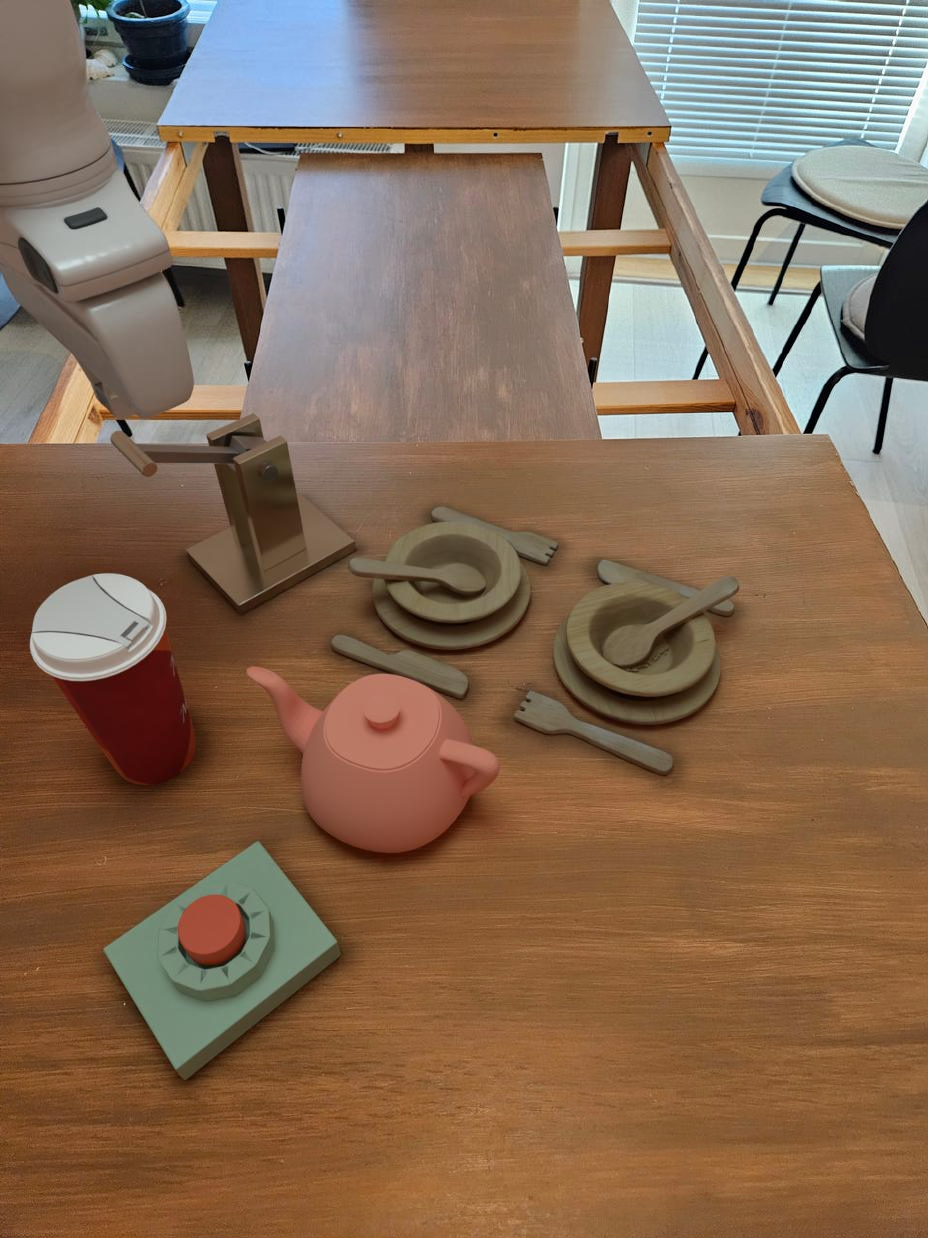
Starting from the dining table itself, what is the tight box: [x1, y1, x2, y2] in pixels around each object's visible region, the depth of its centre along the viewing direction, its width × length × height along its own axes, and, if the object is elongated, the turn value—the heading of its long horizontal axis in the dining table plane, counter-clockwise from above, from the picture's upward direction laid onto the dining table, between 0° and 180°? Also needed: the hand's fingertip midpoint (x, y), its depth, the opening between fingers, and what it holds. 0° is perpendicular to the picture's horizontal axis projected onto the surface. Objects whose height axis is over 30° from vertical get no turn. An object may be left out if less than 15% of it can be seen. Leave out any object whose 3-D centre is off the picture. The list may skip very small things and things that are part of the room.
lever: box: [109, 430, 268, 478], centre depth 68 cm, size 12×5×2 cm, turn 131°
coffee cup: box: [29, 572, 197, 786], centre depth 60 cm, size 8×8×15 cm
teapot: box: [246, 666, 501, 854], centre depth 61 cm, size 12×18×10 cm
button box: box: [102, 840, 342, 1081], centre depth 54 cm, size 11×9×4 cm
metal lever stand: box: [185, 413, 357, 615], centre depth 75 cm, size 12×9×13 cm
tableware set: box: [331, 506, 740, 776], centre depth 72 cm, size 30×20×6 cm, turn 64°
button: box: [178, 895, 246, 966], centre depth 52 cm, size 4×4×2 cm
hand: (119, 407), depth 62 cm, fingers closed
